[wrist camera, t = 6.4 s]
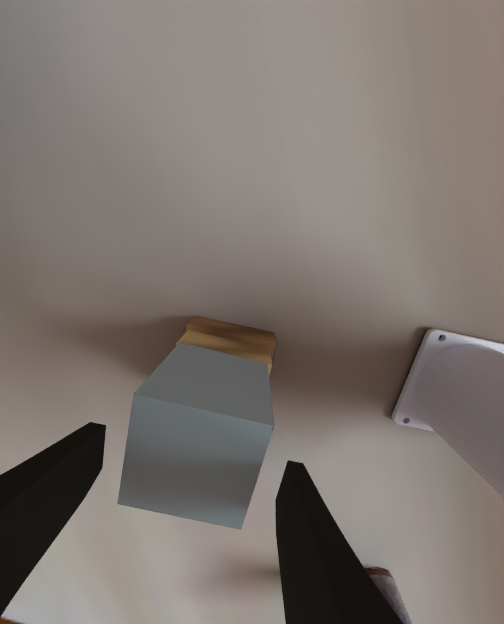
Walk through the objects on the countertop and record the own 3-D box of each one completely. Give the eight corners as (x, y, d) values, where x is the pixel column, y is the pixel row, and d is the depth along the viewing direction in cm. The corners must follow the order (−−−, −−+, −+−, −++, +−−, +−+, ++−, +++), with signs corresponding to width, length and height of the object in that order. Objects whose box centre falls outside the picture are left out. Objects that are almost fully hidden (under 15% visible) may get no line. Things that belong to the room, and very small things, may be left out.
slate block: (267, 363, 13) (274, 425, 8) (246, 436, 14) (241, 529, 10) (179, 342, 13) (133, 393, 8) (165, 418, 14) (117, 503, 9)
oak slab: (269, 348, 16) (272, 365, 13) (250, 418, 17) (250, 445, 15) (187, 330, 15) (175, 343, 13) (174, 402, 17) (161, 427, 14)
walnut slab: (273, 331, 18) (276, 343, 16) (256, 399, 19) (256, 419, 17) (196, 314, 18) (186, 323, 15) (184, 384, 19) (174, 403, 17)
